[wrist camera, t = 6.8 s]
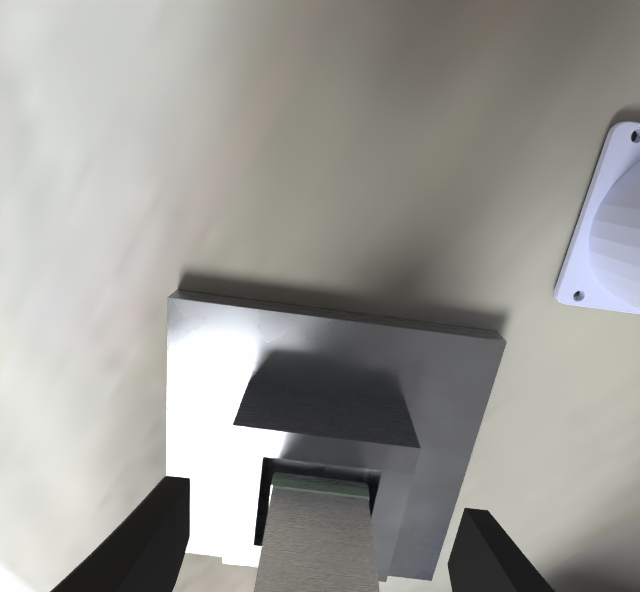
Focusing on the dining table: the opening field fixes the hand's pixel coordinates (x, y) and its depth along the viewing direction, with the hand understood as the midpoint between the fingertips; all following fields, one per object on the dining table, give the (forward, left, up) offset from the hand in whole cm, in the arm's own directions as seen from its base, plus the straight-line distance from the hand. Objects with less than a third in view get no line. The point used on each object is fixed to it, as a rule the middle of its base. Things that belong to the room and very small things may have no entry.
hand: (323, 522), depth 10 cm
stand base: (0, +6, -10) cm, 12 cm away
